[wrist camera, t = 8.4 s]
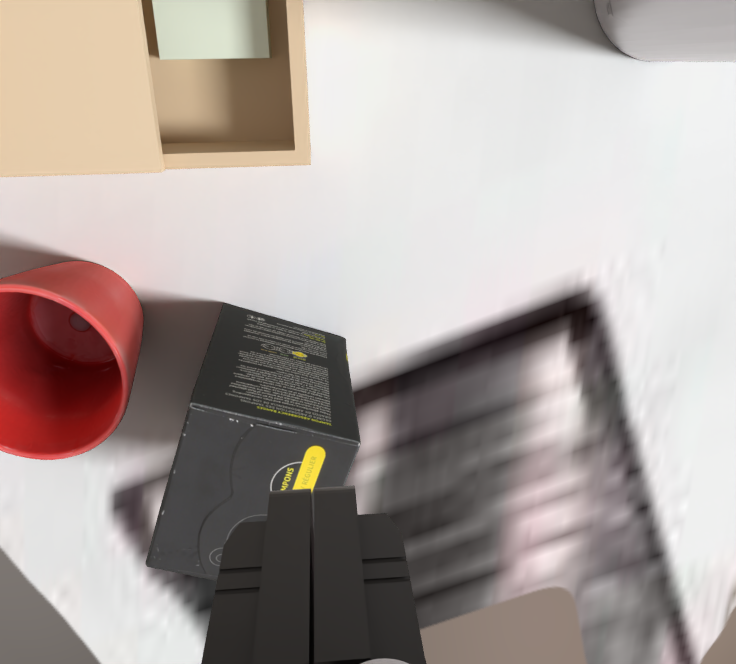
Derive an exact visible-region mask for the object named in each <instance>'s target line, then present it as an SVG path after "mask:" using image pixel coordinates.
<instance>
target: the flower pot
mask: <svg viewBox="0 0 736 664" xmlns="http://www.w3.org/2000/svg"><path fill="white" fill-rule="evenodd" d="M143 323H144V318H143V311H142V307H141V304H140V302H139V299H138V297H137V295H136V294H135V292H134V291H133V289H132V288H131V287H130V285H129V284H128V283H127V282H126V281H125V280H124V279H123V278H122V277H120V276H119V275H118V274H116V273H115V272H113V271H112V270H110V269H108V268H106V267H104V266H101V265H98V264H95V263H91V262H84V261H69V262H63V263H59V264H54V265H49V266H45V267H41V268H37V269H33V270H29V271H26V272H22V273H19V274H15V275H12V276H9V277H5V278H2V279H0V450H1V451H3V452H6V453H9V454H13V455H16V456H21V457H25V458H31V459H41V460H55V459H63V458H68V457H72V456H76V455H79V454H82V453H84V452H87V451H89V450H91V449H93V448H95V447H96V446H98V445H99V444H100V443H102V442H103V441H104V440H106V439H107V438H108V437H109V436H110V435H111V434H112V433H113V431H114V430H115V429H116V428H117V426H118V425H119V423H120V422H121V420H122V418H123V416H124V414H125V411H126V408H127V405H128V402H129V398H130V394H131V390H132V385H133V381H134V376H135V371H136V367H137V362H138V357H139V353H140V347H141V341H142V333H143Z"/></svg>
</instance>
